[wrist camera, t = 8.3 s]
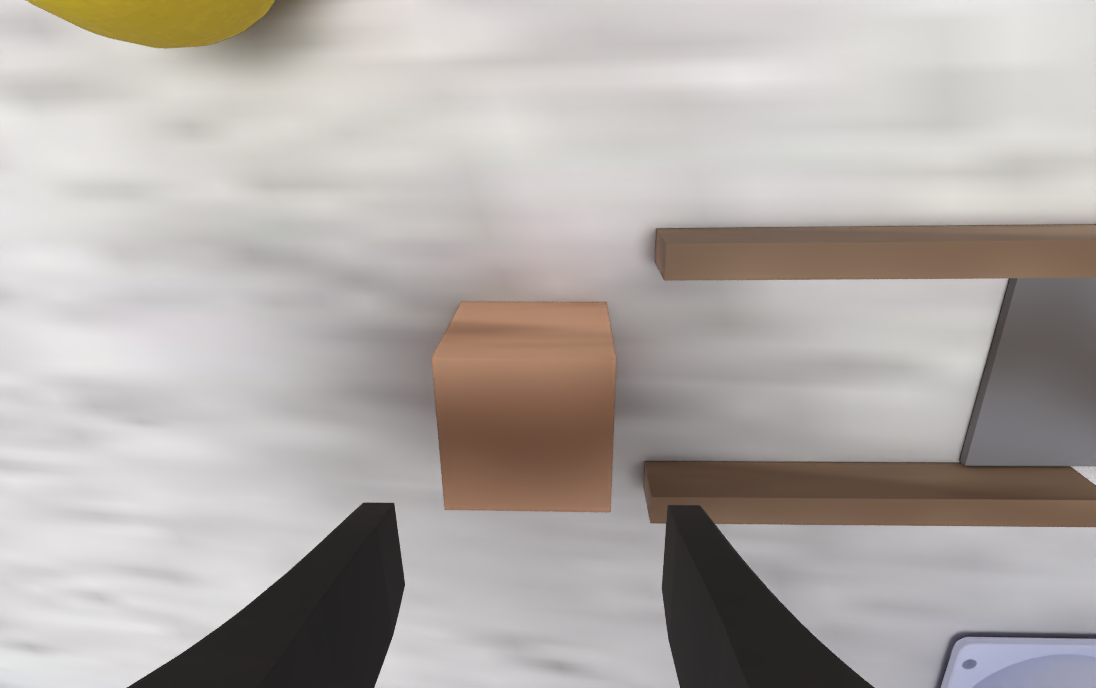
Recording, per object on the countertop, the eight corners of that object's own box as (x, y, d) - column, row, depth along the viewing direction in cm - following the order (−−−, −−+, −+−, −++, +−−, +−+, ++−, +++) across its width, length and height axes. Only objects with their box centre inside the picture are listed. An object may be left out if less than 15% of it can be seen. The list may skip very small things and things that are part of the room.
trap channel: (1103, 489, 21) (1155, 527, 19) (643, 486, 21) (650, 523, 19) (1205, 223, 17) (1282, 238, 15) (656, 228, 18) (666, 243, 16)
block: (602, 428, 21) (610, 512, 16) (469, 426, 21) (444, 510, 17) (606, 301, 19) (616, 359, 15) (461, 300, 19) (431, 357, 15)
